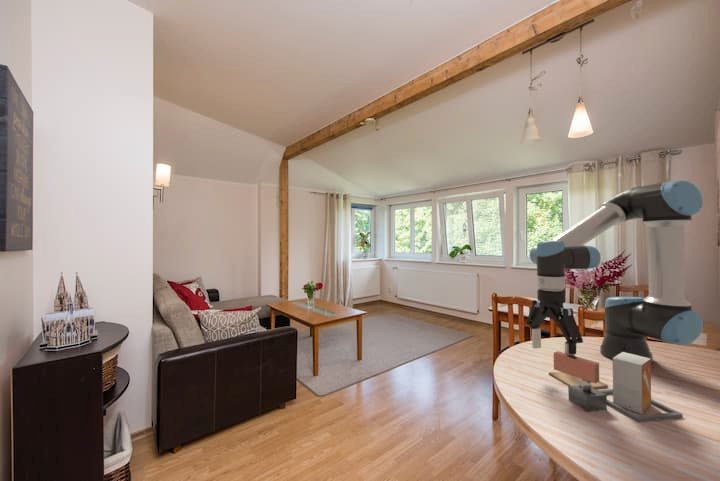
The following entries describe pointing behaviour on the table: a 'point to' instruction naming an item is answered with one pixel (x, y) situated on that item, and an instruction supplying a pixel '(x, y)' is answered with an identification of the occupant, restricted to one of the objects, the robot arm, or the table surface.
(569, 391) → the key housing
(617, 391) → the small box
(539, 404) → the table surface
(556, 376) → the cork pad
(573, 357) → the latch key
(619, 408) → the seat rim
